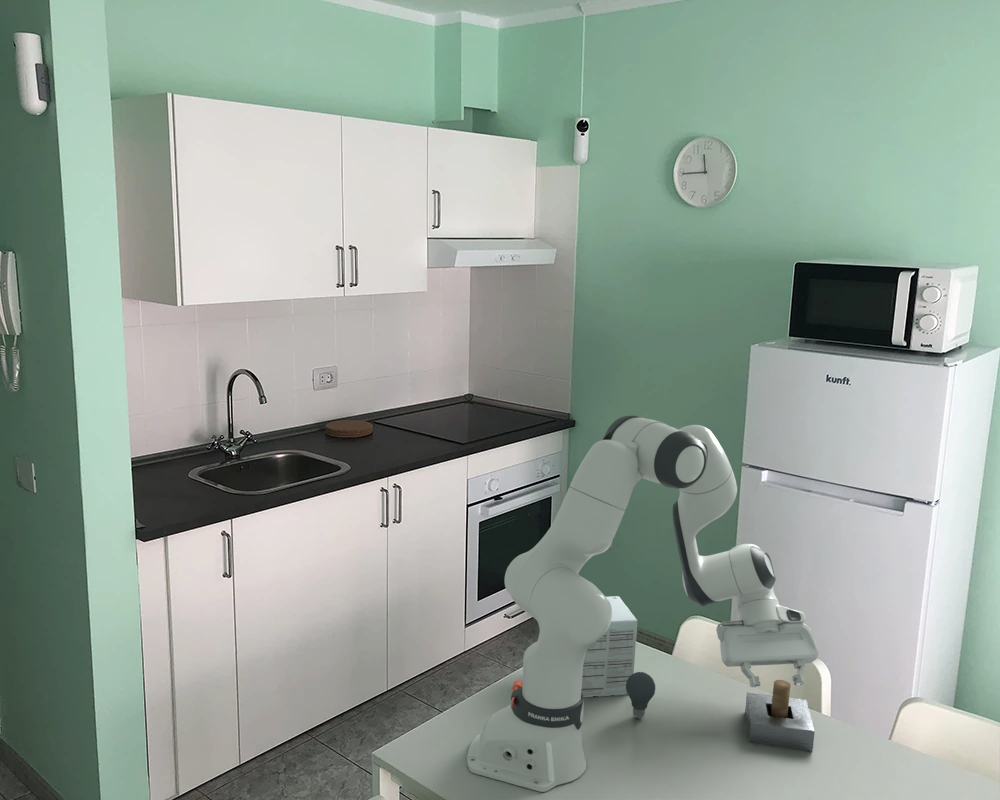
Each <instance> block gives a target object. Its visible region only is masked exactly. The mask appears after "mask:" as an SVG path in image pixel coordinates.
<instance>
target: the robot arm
mask: <svg viewBox="0 0 1000 800" xmlns="http://www.w3.org/2000/svg"><path fill="white" fill-rule="evenodd" d="M724 450H725V449H724V448H723V446H722V445H721V444H720V442H719V440H718V438H717V437H716V436H715V435H714V434H713V432H712V430H710V429H709V428H707V427H706V426H704V425H702V424H701V425H700V424H691V425H686V426H684V427H683V426H682V427H680V428H679V429H677V428H676V427H674V426H670V425H668V424H667V423H665V422H663V421H659V420H655V419H651V418H646V417H645V418H644V417H643V416H639V415H623V416H621V417H619V418H617V419H615V420H614V421H613V422H612V423H611V425H609V427H608V428H607V430H606V432H605V434H604V436H603V437H602V439H601V440H599V441H596V442H595V443H593V444H592V446H591V447H590V449H589V450H588V452H586V455H585V456H584V458H583V459H582V461H581V462H580V465H579V466H578V468H577V470H576V471H575V474H574V476H573V478H572V480H571V482H570V485H569V487H568V489H567V492H566V493H565V496H564V498H563V500H562V503H561V505H560V507H559V510H558V512H557V514H556V516H555V518H554V520H553V521H552V524H551V526H550V527H549V528H548V530H547V531H546V533H545V534H544V535H543V537H542V538H541V539H540V540H539V541H538V543H536V545H534V547H532V548H531V549H530V550H528V551H526V552H524V553H521V554H519V555H517V556H516V557H514V559H512V561H511V562H510V563H509V565H508V566H507V568H506V570H505V573H504V574H505V575H504V581H503V582H504V587H505V589H506V591H507V593H508V594H509V595H510V597H511V599H512V601H514V602H515V604H516V606H518V607H519V608H520V609H522V610H523V611H524V612H526V613H527V614H528V615H530V616H531V617H533V618H534V619H535V620H536V621H537V623H538V627H539V634H538V639H537V641H535V642H533V643H532V644H530V645H529V646H528V647H527V648H526V649H525V651H524V653H523V657H522V658H523V661H522V663H523V664H522V680H521V679H520V680H519V679H517V680H515V681H513V684H512V687H511V691H512V692H511V695H510V704H509V705H506V706H505V707H503V708H500V709H498V710H496V711H495V712H493V713H492V714H491V715H490V716H489V717H488V719H487V721H486V722H485V724H484V726H483V727H482V731H480V732H479V733H478V734H477V735H476V736H475V737H474V738H473V739H472V741H471V743H470V745H469V748H468V751H467V757H466V765H467V768H468V770H469V771H470V773H472V774H476V775H479V776H483V777H487V778H490V779H492V780H498V781H499V782H500V781H501V782H504V783H508V784H511V785H515V786H518V787H522V788H525V789H529V790H533V791H537V792H540V793H541V792H542V793H543V792H545V793H546V792H548V791H550V790H552V789H553V788H554V787H556V786H560V785H564V784H568V783H570V782H572V781H575V780H577V779H579V778H580V777H581V776H582V775H583V774H584V773H585V771H586V768H587V760H586V756H585V753H584V752H585V750H584V746H583V740H582V725H583V722H584V707H585V703H584V697H583V694H582V692H581V689H582V675H583V664H584V658H585V655H586V652H587V649H588V647H589V646H590V644H592V643H595V642H596V641H598V640H599V639H600V638H601V637H602V636H603V635H604V634H605V633H606V631H607V630H608V628H609V626H610V623H611V619H612V607H611V604H610V602H609V600H608V599H607V598H606V597H607V596H606V595H605V594H604V593H603V592H602V591H601V590H600V589H599V588H598V587H597V586H596V585H595V584H594V583H593V582H592V581H590V580H588V579H586V578H585V577H583V576H581V575H579V573H580V571H581V570H582V568H583V566H585V564H586V563H587V562H588V561H589V560H590V559H591V558H592V557H593V556H597V555H600V554H603V553H605V552H606V551H607V550H608V549H609V548H610V547H611V545H612V543H613V541H614V538H615V536H616V533H617V532H618V530H619V527H620V524H621V522H622V520H623V517H624V515H625V512H626V510H627V507H628V504H629V502H630V499H631V496H632V494H633V491H634V487H635V486H636V484H637V483H638V482H639V481H641V479H643V480H646V481H649V482H652V483H655V484H659V485H660V484H661V485H663V486H664V487H666V488H669V489H670V488H671V489H678V490H679V496H678V499H677V500H676V501H675V502H674V503H673V505H672V509H671V510H672V513H671V515H672V523H673V529H674V534H675V535H674V536H675V539H676V545H677V549H678V550H677V551H678V555H679V561H680V564H681V570H682V572H681V573H682V574H681V576H682V585H683V589H684V591H685V594H686V596H687V597H688V599H689V600H690V601H691V602H693V603H695V604H697V605H699V606H700V607H701V606H702V607H708V606H710V605H713V604H717V603H718V602H720V601H721V602H722V601H725V600H729V599H735V598H736V611H737V615H738V620H732V621H731V620H730V621H729V620H724V621H721V623H719V624H717V626H716V635H717V638H718V640H719V646H720V647H719V648H720V656H721V657H720V658H721V661H722V663H723V664H724V665H725V667H728V668H729V667H731V668H732V667H740V670H741V672H742V673H743V675H744V676H745V677H746V678H747V679H748V681H749V686H750V687H751V688H758V687H760V686H761V681H760V677H759V675H758V676H755V674H754V673H753V672H752V670H751V669H752V667H753V666H754V667H755V666H773V665H774V666H775V665H793V667H794V670H795V669H797V671H796V672H795V673H796V674H794V675H793V676H792V677H791V679H792V681H793V685H794V686H803V684H805V680H804V677H803V674H804V672H805V667H806V664H812V663H813V662H815V661H816V660H817V659H818V657H819V654H820V652H819V648H818V645H817V642H816V639H815V636H814V634H813V632H812V630H811V628H810V626H809V625H807V624H806V623H805V622H806V620H807V619H806V618H807V617H806V615H805V613H804V612H803V611H799V610H797V609H792V608H789V607H786V606H783V605H780V602H779V600H778V598H777V596H776V594H775V592H774V589H775V587H774V585H775V583H776V580H777V579H776V578H777V577H776V575H775V571H774V567H773V563H772V559H771V557H770V555H769V553H767V552H766V551H764V550H762V549H761V547H759V546H758V545H756V544H753V543H742V544H737V545H736V546H733V547H731V548H730V549H729V550H726V551H723V552H718V553H715V554H709V555H700V554H699V548H698V544H697V539H696V538H697V537H696V536H697V534H698V533H699V532H700V531H701V530H702V529H703V528H705V527H706V526H708V525H709V524H710V523H712V522H714V521H716V520H717V519H720V518H721V517H722V516H724V514H726V513H727V512H728V511H729V510H730V508H731V507H732V506H733V504H734V502H735V500H736V499H737V493H738V486H737V485H738V484H737V480H736V477H735V472H734V471H733V468H732V466H731V463H730V461H729V458H728V456H727V455H726V452H725V451H724Z"/></svg>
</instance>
